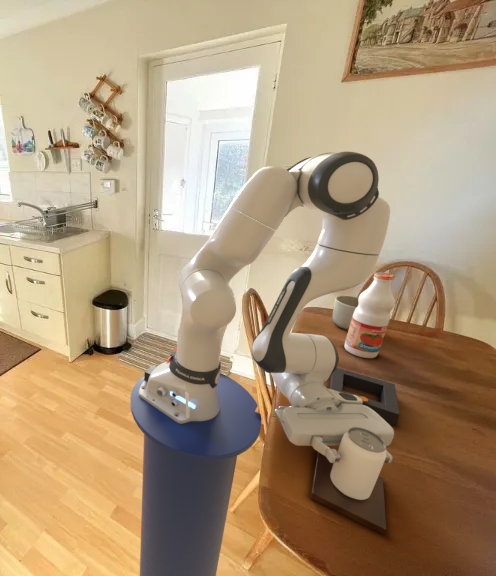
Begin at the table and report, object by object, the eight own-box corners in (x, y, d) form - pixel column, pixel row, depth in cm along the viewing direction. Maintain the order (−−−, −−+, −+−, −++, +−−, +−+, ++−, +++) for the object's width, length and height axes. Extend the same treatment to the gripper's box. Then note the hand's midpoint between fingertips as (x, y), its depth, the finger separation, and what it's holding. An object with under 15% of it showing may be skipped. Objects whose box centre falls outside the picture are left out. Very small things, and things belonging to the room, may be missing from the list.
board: (310, 498, 60) (312, 493, 60) (317, 455, 69) (318, 450, 69) (383, 535, 54) (386, 529, 54) (380, 482, 63) (382, 477, 63)
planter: (367, 325, 125) (375, 300, 121) (366, 337, 116) (375, 311, 112) (330, 316, 132) (337, 293, 128) (327, 328, 123) (334, 302, 119)
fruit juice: (358, 342, 113) (382, 268, 103) (384, 357, 104) (413, 278, 94) (336, 345, 111) (358, 271, 101) (361, 360, 102) (387, 280, 92)
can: (328, 489, 60) (344, 442, 56) (330, 464, 65) (344, 420, 61) (370, 508, 57) (391, 460, 53) (369, 481, 62) (387, 435, 57)
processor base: (327, 402, 85) (330, 390, 83) (331, 376, 95) (334, 365, 94) (394, 425, 77) (400, 413, 75) (390, 394, 87) (395, 382, 86)
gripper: (273, 395, 69) (309, 447, 57) (365, 395, 69) (423, 447, 56) (268, 417, 72) (301, 472, 59) (357, 417, 71) (411, 472, 59)
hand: (362, 460), depth 58 cm, fingers open, 8 cm apart
